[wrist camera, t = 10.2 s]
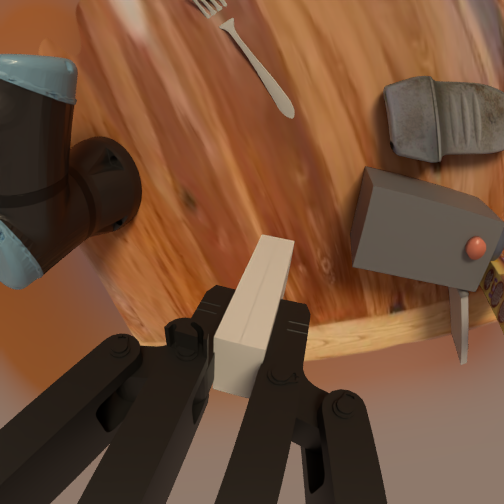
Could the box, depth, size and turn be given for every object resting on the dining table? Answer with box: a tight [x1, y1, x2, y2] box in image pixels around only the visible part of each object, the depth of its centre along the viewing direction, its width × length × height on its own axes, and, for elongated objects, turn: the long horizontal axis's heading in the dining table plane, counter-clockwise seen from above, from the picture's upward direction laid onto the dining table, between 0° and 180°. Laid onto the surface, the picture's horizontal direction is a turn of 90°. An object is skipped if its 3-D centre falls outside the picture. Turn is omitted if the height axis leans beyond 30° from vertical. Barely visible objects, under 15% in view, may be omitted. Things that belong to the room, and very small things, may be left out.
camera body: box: [350, 166, 504, 292], centre depth 31 cm, size 18×9×9 cm, turn 85°
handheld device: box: [383, 76, 504, 163], centre depth 25 cm, size 10×20×5 cm, turn 103°
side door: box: [449, 287, 469, 365], centre depth 35 cm, size 14×2×7 cm, turn 26°
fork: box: [193, 0, 294, 118], centre depth 30 cm, size 3×24×2 cm, turn 33°
